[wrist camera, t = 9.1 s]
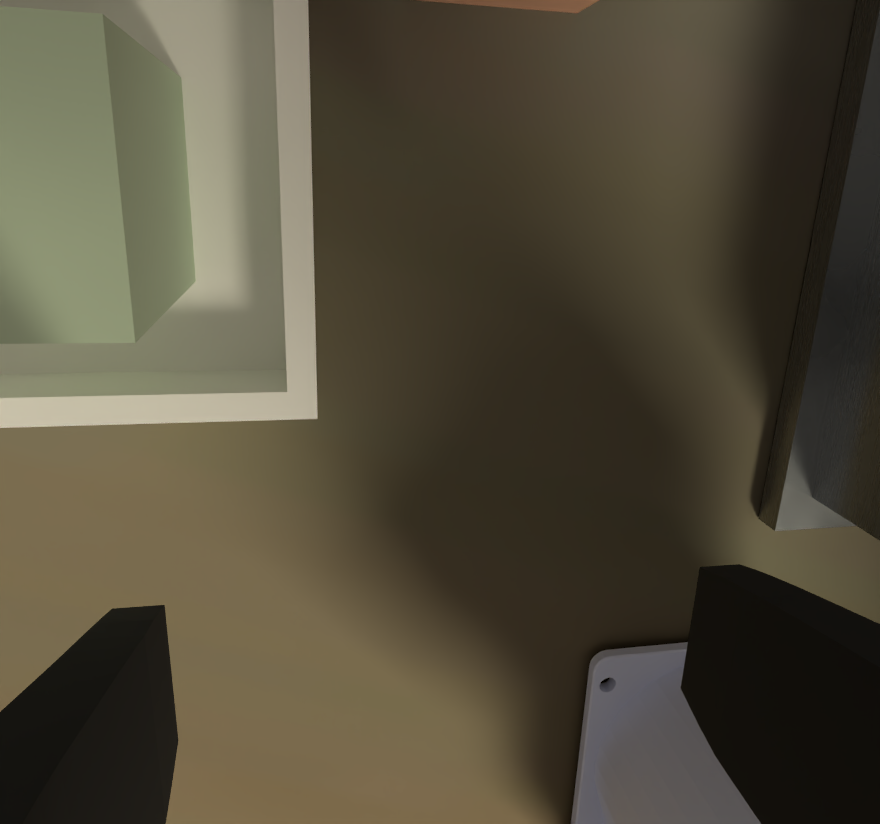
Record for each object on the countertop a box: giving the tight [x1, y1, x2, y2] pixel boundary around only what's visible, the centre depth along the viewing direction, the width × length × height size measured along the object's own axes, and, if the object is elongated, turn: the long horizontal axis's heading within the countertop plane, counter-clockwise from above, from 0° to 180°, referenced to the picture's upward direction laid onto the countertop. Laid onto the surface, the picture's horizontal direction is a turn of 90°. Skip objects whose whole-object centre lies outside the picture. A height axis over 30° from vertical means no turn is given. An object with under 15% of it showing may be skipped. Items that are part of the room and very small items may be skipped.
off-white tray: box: [0, 0, 317, 428], centre depth 14 cm, size 9×9×3 cm
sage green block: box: [0, 6, 196, 344], centre depth 12 cm, size 4×4×6 cm
